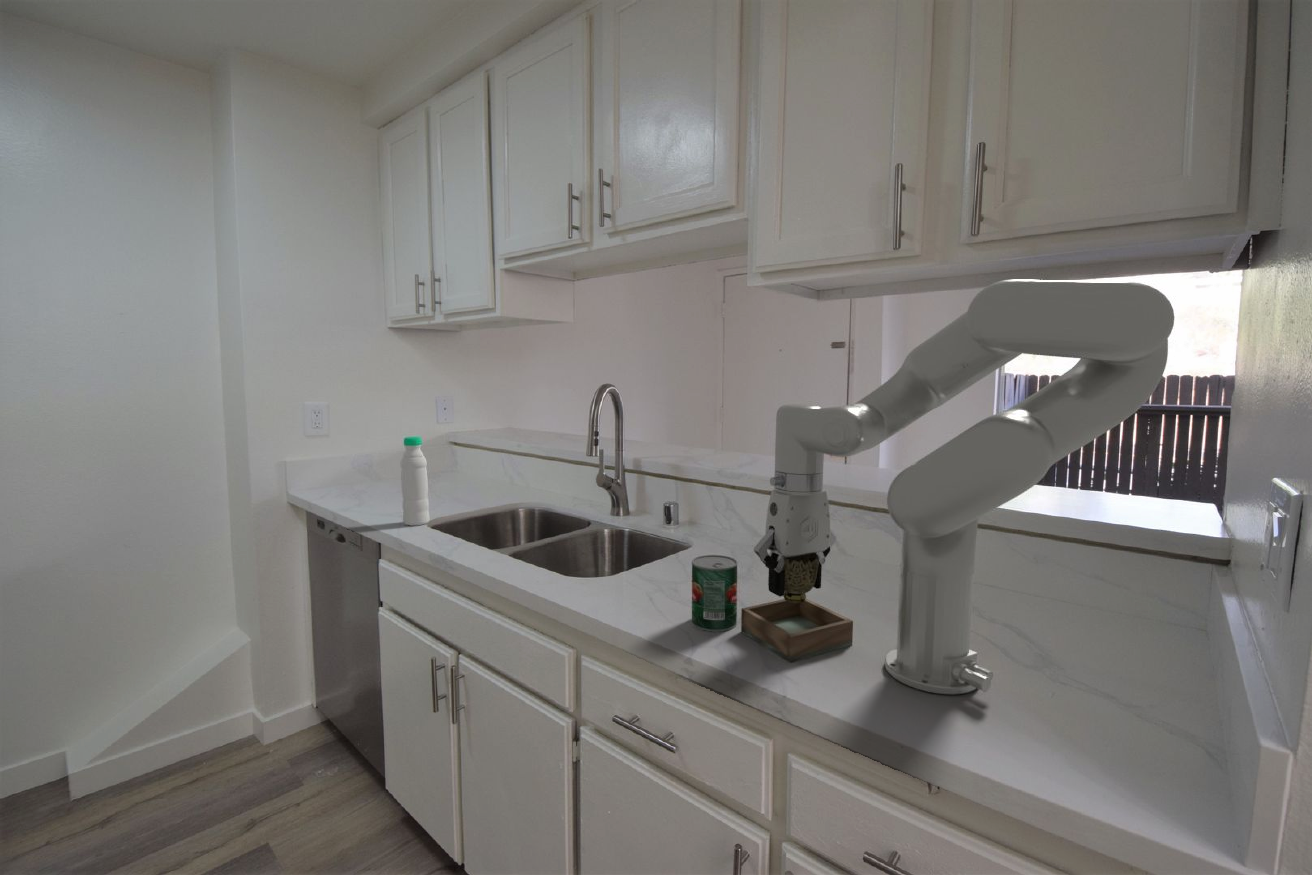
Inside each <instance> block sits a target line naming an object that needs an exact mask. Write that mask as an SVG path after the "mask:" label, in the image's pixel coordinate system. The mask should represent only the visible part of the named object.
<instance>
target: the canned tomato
mask: <svg viewBox="0 0 1312 875" xmlns="http://www.w3.org/2000/svg"><path fill="white" fill-rule="evenodd" d="M738 563H739V562H738V560H737V559H735V558H733V557H731V556H727V555H720V554H719V555H718V554H707V555H701V556H697V557H694V558H693V559H692V560H691V624H692V625H694V626H693V627H695V628H696V629H698V630H701V629H702V630H701V631H704V630H706V631H705V632H710V631H712V632H714V633H720V632H726V631H730V630H733V629H734V628H735V627H736V626H737V625H738V620H737V619H738V618H737V617H738V613H737V612H738V611H737V610H738V606H737V605H738Z"/></svg>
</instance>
